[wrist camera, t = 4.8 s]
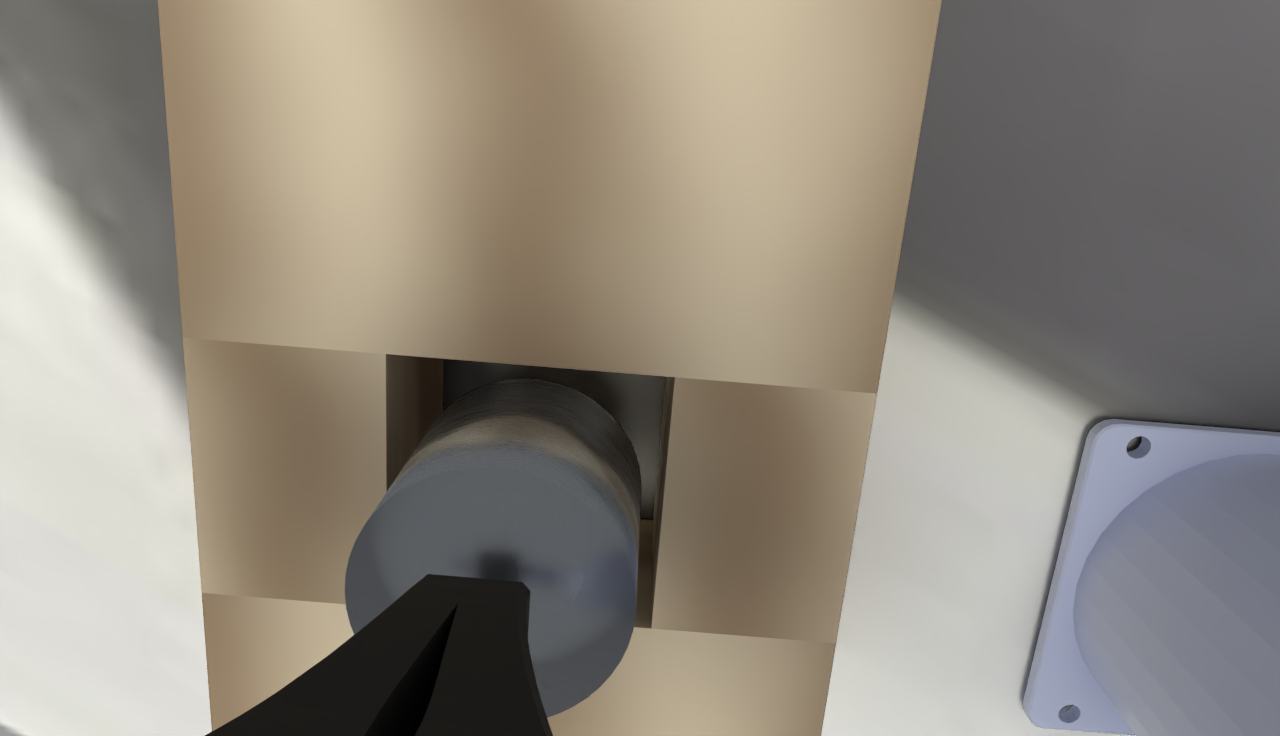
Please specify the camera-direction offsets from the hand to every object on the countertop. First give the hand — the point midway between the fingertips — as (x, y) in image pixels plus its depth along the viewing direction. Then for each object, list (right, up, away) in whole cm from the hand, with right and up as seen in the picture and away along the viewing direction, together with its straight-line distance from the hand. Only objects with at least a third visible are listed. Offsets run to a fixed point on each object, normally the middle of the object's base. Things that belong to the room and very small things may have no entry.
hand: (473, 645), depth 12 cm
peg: (0, +2, +6) cm, 6 cm away
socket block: (+1, +8, +7) cm, 11 cm away
